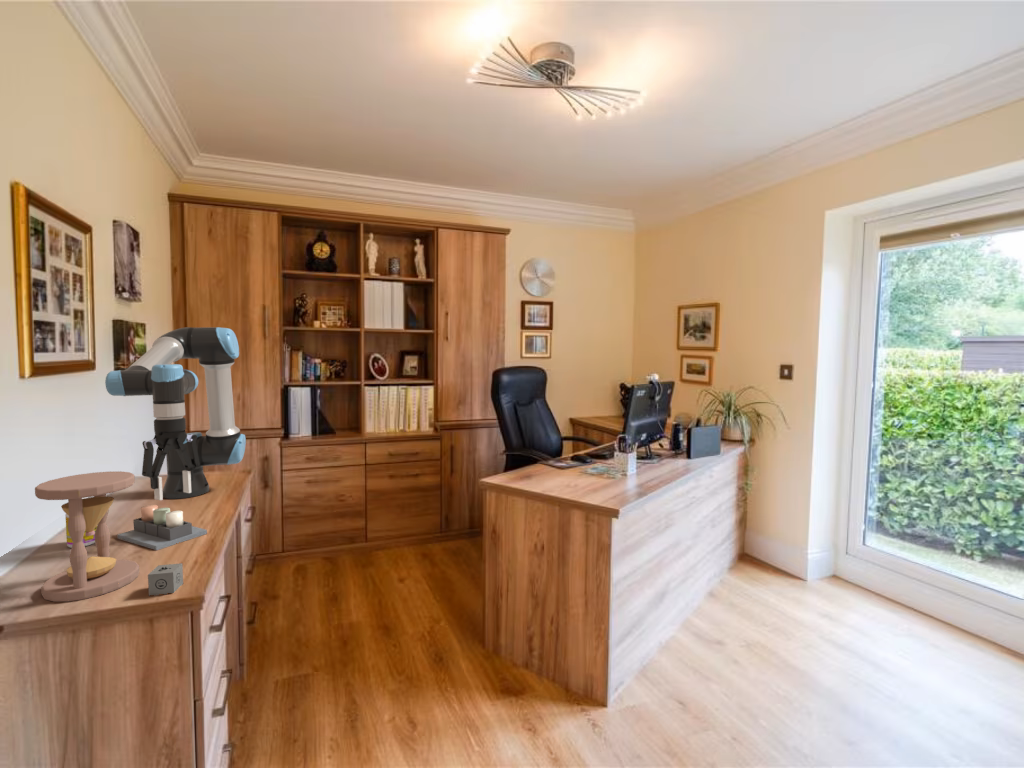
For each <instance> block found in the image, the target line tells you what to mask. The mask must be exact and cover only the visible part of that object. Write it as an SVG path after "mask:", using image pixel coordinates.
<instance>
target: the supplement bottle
mask: <svg viewBox="0 0 1024 768" xmlns="http://www.w3.org/2000/svg"><path fill="white" fill-rule="evenodd" d="M82 499H84V498H82ZM68 520H69V516H68V515H67V514H66V513H65V531H66V533H65V534H66V535H65V536H66V546H67V547H68V548H70V549H72V545H73V541H72V539H71V537H70V534H69V532H68ZM96 528H97V526H96V527H95V529H94V531H95V532H96ZM86 532H87V531H86V530H85V532H84V536H83V540H82V542H83V544H84V546H85V547H89V546H90V545H93V544H96V543H95V534H94V535H91V536H86V534H85V533H86Z"/></svg>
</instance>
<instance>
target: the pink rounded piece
mask: <svg viewBox="0 0 1024 768" xmlns="http://www.w3.org/2000/svg"><path fill="white" fill-rule="evenodd" d="M156 509H159V506H158V504H148V505H145V506H141V508H140V516H141V517H140V518H142V521H144V522H147V521H151V520H154V519H153V511H154V510H156Z"/></svg>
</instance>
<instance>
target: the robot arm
mask: <svg viewBox="0 0 1024 768" xmlns="http://www.w3.org/2000/svg"><path fill="white" fill-rule="evenodd" d="M151 346H152V347H150V349H148V350H147V351H146V352H145V353H144V354H142V356H140V357H139V358H138V359H136V360H135V362H133V363H132V364H131V365H130V366H128V367H127V368H126V369H125V370H120V369H119V370H111V371H109V372H108V373H107V374H106V376H105V383H104V384H105V389H106V392H107V393H108V394H109V395H111V396H114V397H115V396H121V397H135V396H152V409H153V417H154V420H153V431H154V436H153V439H150V440H143V441H142V447H143V449H144V450H143V458H142V469H141V475H142V476H143V477H146V478H150V479H149V481H150V489H152V490H154V491H153V493H154V495H153V496H154V500H158V501H163V500H164V499H168V500H169V499H170V500H177V499H178V500H179V499H187V498H194V497H198V496H201V494H202V495H204V493H205V494H207V493H209V491H210V484H209V482H208V480H207V477H206V474H205V473H204V467H207V466H208V467H209V466H224V465H225V466H226V465H227V466H230V465H237V464H239V463H241V461H242V460H243V458H244V456H245V451H246V443H247V441H246V440H247V439H246V434H243V433H241V429H240V428H239V427H238V426H236V423H235V422H236V420H235V406H234V405H235V404H234V396H233V395H234V394H233V382H232V381H233V380H232V370H231V367H232V366H233V365H234V364H235V361H236V359H237V358H239V356H240V347H239V341H238V338H237V334H236V333H235V332H234V330H233V329H231V328H227V327H219V326H218V327H213V326H211V327H209V326H208V327H205V326H204V327H193V326H191V327H186V326H185V327H180V328H177V329H174V330H171V331H168V332H167V333H164V334H162V335H161V336H159V337H157V339H155V340H154V342H153V343H152V345H151ZM181 359H182V360H183V359H186V360H188V359H194V360H195V359H197V360H198V362H199V365H200V366H201V367H203V369H204V379H205V388H206V389H205V390H206V398H207V413H208V421H209V429H208V430H207V431H206V432H205V435H203V433H202V432H201V431H200V432H197V431H196V432H189V433H187V432H186V427H187V425H186V424H187V423H186V418H185V417H184V416H186V405H185V400H186V399H185V395H188V394H190V393H192V392H193V391H195V390H196V389H197V388H198V385H199V378H198V376H197V374H196V373H194V371H192V370H190V369H189V370H188V369H185V368H184V367H183V365H182V364H179V363H178V364H177V363H176V364H175V363H174V362H177V361H179V360H181ZM172 363H173V364H172ZM155 445H156V446H157V449H156V455H155V457H154V453H155V451H154V449H155V447H156V446H155ZM165 458H166V459H165ZM165 460H166V470H167V476H166V480H165V482H164V486H163V477H162V476H160V474H161V470H162V467H163V464H164V462H165ZM206 492H207V493H206ZM163 498H164V499H163Z"/></svg>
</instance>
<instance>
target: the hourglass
mask: <svg viewBox="0 0 1024 768" xmlns="http://www.w3.org/2000/svg"><path fill="white" fill-rule="evenodd" d="M134 483H135V474H133V472H129V471H121V470H120V471H119V470H118V471H97V472H87V473H81V474H74V475H68V476H63V477H59V478H55V479H49V480H47V481H44V482H42V483H39V484H37V486H35V487H34V495H35V497H36V498H37V499H39V500H44V501H66V500H67V502H66V503H64V504H62V505H61V509H62V511H63V512H64V513H65V515H66V514H67V515H68V516H69V520H68V532H69V534H70V537H71V539H72V541H73V545H72V548H70V552H69V562H70V563H69V564H70V567H68V568H67V569H66V570H65V571H62V572H60V573H57V574H55V575H53V576H52V577H50V578H48V579H47V580H46V581H45V582H44V583H43V584H42V585H41V589H40V590H41V591H40V592H41V596H42V597H43V599H44V600H46V601H51V602H54V603H59V602H60V603H61V602H62V603H63V602H64V603H65V602H75V601H81V600H87V599H90V598H91V599H92V598H94V597H97V596H102V595H106V594H108V593H111V592H114V591H116V590H118V589H122V588H123V587H124V586H125V587H126V586H127V585H129V584H131V583H132V582H133V581H134V580H136V579H137V578H138V577H139V574H140V564H138V563H137V561H135V560H129V559H117V558H115V557H111V556H110V542H111V532H110V529H109V527H108V525H107V518H108V515H109V513H110V512H109V511H110V510H109V509H110V507H112V505H113V502H114V500H115V497H113V496H107V495H108V494H111V493H116V492H119V491H122V490H126V489H128V488H129V487H132V486H133V485H134ZM82 498H84V499H82ZM96 526H97V528H96V532H95V531H94V529H95V527H96ZM85 530H86V531H87V532H86V533H85V534H86V536H91V535H94V534H95V543H94V544H95V546H96V551H97V552H96V553H97V556H89V557H88V551H87V548H86V546H84V544H83V542H82V540H83V536H84V532H85ZM135 578H136V579H135ZM118 583H119V584H118Z"/></svg>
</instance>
